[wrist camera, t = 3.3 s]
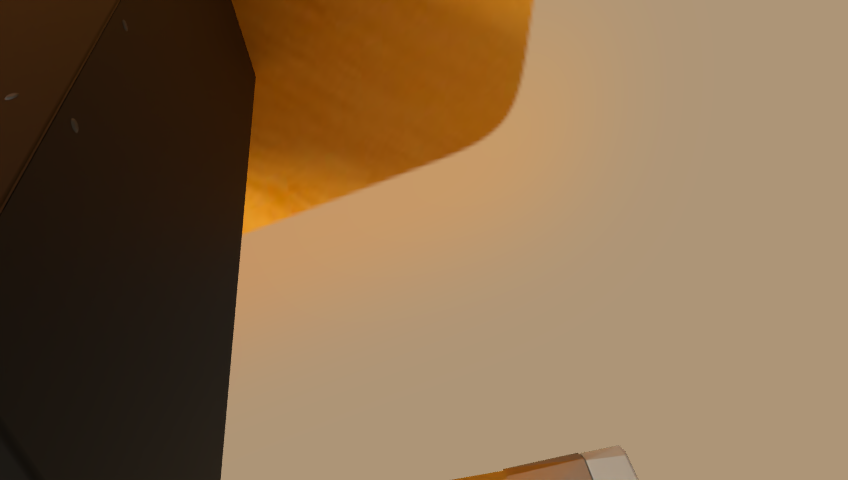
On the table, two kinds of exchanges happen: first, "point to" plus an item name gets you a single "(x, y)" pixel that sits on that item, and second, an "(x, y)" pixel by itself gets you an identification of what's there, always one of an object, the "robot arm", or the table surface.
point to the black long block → (119, 235)
